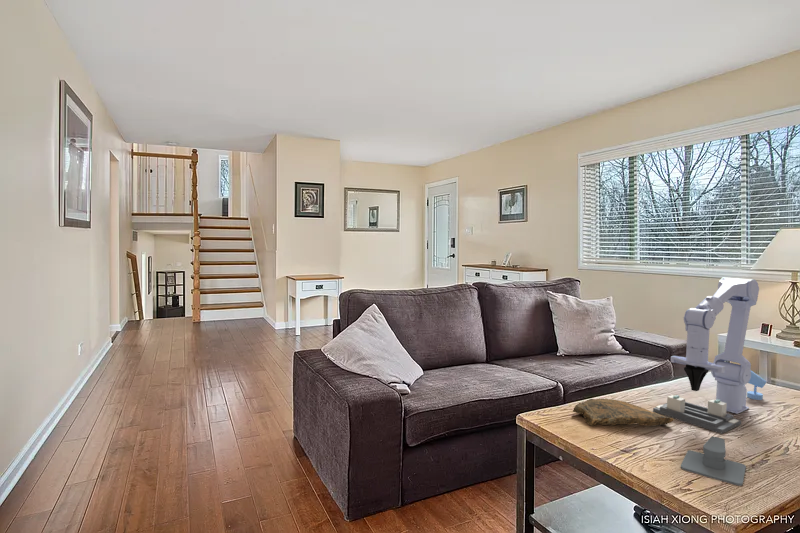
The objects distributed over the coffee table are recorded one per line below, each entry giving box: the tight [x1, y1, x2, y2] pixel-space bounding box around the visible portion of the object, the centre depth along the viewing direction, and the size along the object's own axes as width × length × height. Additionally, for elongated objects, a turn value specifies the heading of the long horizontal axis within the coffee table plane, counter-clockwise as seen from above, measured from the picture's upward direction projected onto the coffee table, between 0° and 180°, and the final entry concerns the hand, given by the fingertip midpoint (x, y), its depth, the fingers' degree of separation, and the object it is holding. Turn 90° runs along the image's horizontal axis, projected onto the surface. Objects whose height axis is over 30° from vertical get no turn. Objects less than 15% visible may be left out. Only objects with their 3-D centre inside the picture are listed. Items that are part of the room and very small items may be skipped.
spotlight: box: [746, 370, 767, 401], centre depth 164 cm, size 5×10×7 cm
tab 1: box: [666, 394, 686, 413], centre depth 147 cm, size 3×4×5 cm
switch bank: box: [652, 401, 742, 434], centre depth 145 cm, size 13×20×2 cm, turn 33°
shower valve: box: [680, 435, 747, 487], centre depth 114 cm, size 12×6×15 cm
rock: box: [572, 398, 675, 427], centre depth 142 cm, size 25×6×20 cm
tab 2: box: [707, 399, 727, 417], centre depth 143 cm, size 3×4×5 cm
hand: (695, 390), depth 142 cm, fingers closed
